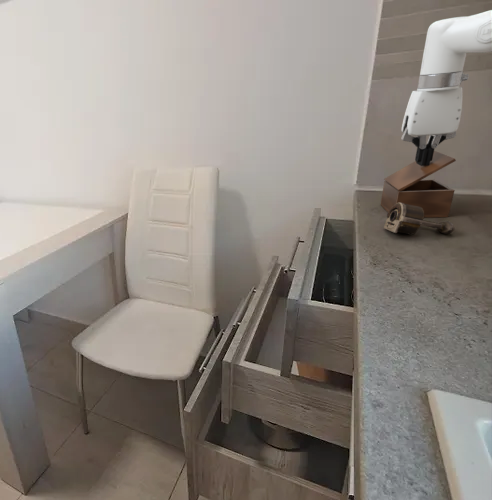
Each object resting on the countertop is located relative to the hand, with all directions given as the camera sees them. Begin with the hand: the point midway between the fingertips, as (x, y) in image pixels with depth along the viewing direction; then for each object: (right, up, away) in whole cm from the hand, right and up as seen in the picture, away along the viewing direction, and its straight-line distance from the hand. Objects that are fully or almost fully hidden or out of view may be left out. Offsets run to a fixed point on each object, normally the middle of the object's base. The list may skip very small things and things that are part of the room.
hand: (422, 164), depth 89 cm
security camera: (-7, -18, -7) cm, 20 cm away
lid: (0, -2, +1) cm, 2 cm away
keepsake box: (+1, -11, +5) cm, 12 cm away
